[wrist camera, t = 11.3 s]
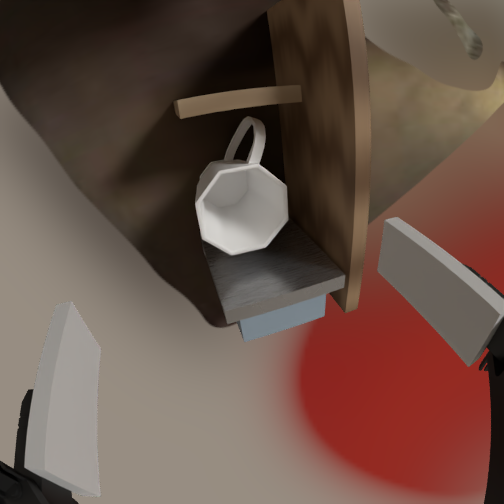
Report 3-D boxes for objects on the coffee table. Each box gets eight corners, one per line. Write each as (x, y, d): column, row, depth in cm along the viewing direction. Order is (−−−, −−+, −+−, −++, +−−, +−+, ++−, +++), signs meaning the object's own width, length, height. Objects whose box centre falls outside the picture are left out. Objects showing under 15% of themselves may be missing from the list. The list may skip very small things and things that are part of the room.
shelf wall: (266, 10, 19) (336, -33, 9) (279, 10, 20) (353, -29, 10) (289, 244, 33) (345, 313, 23) (299, 241, 33) (357, 308, 23)
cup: (177, 209, 27) (185, 250, 20) (203, 105, 23) (220, 107, 16) (246, 220, 30) (274, 260, 23) (275, 124, 25) (317, 137, 19)
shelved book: (211, 242, 30) (238, 313, 21) (276, 226, 31) (326, 286, 22) (217, 268, 31) (244, 342, 22) (278, 252, 33) (324, 316, 24)
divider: (173, 101, 22) (177, 100, 15) (261, 87, 23) (300, 85, 17) (175, 113, 22) (180, 119, 16) (263, 99, 24) (302, 101, 17)
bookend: (199, 232, 29) (224, 311, 19) (283, 212, 30) (345, 274, 20) (203, 252, 30) (230, 335, 20) (285, 232, 32) (342, 299, 22)
